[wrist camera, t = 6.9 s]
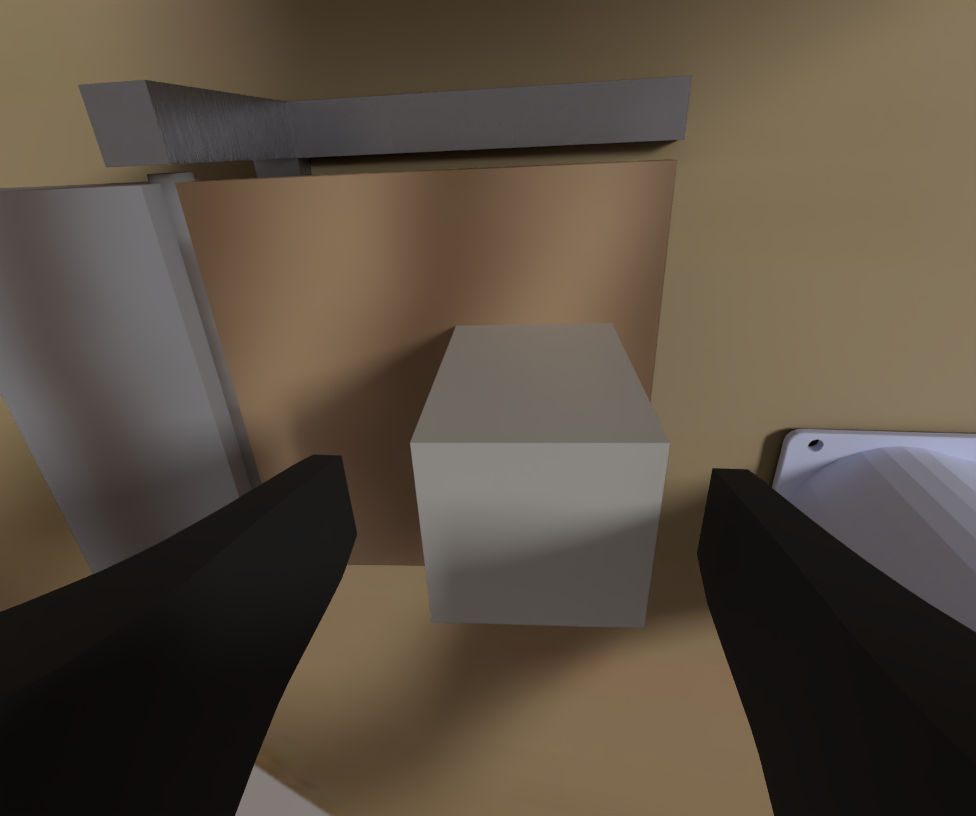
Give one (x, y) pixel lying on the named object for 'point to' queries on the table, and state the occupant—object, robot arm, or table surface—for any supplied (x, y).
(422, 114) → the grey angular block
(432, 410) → the light grey block
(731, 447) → the table surface
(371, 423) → the trapdoor
